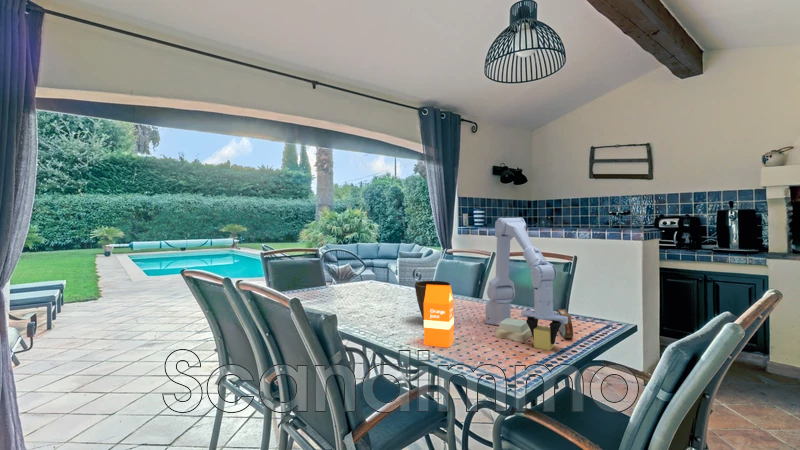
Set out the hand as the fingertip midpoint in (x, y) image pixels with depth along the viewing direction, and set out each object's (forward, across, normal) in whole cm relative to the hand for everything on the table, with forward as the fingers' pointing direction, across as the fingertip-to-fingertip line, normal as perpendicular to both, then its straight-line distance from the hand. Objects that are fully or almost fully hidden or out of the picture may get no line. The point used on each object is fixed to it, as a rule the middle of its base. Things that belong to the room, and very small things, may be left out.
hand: (544, 341), depth 117 cm
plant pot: (+2, -46, +3) cm, 46 cm away
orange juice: (+2, -30, -17) cm, 35 cm away
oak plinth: (+2, -12, +5) cm, 13 cm away
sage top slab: (-1, -12, +5) cm, 13 cm away
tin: (+2, +2, +17) cm, 17 cm away
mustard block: (+2, 0, 0) cm, 2 cm away
